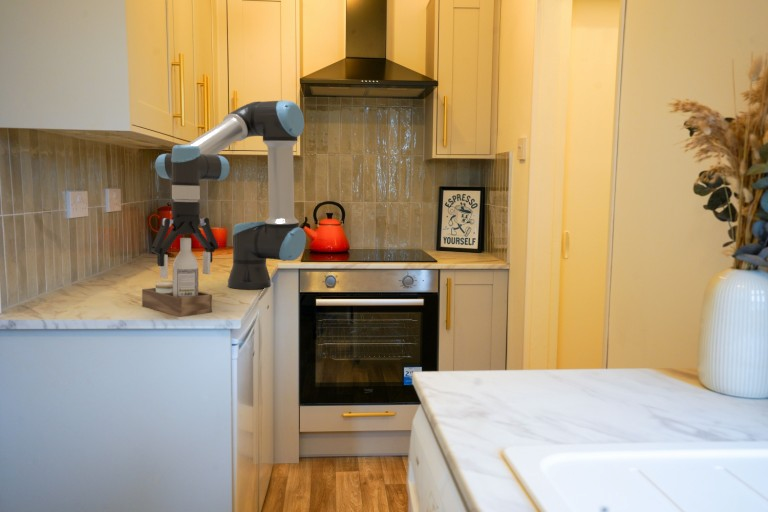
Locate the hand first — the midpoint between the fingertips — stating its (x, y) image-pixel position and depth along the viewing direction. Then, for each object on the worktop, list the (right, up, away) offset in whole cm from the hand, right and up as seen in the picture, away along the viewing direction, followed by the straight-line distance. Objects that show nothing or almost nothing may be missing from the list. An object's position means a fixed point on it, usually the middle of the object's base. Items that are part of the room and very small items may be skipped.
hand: (185, 276), depth 187 cm
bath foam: (0, -9, +1) cm, 9 cm away
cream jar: (-8, -9, +7) cm, 14 cm away
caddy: (-4, -10, +4) cm, 11 cm away
